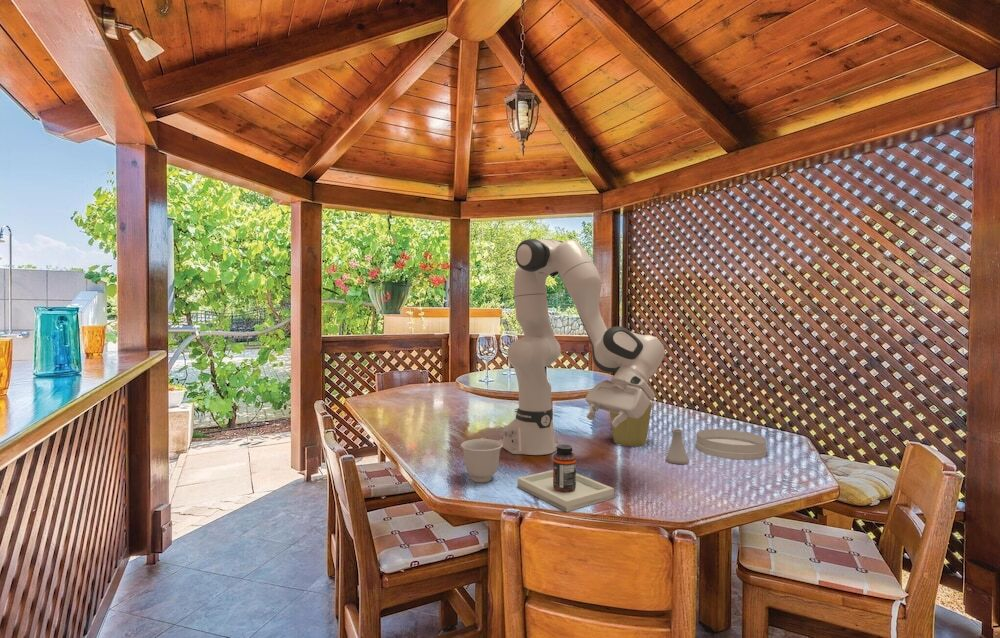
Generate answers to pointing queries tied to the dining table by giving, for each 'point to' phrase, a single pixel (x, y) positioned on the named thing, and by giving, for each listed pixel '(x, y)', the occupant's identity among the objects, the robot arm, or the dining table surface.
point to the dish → (731, 444)
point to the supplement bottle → (564, 469)
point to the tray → (567, 501)
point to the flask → (677, 449)
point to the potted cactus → (632, 429)
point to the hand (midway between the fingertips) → (600, 422)
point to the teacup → (481, 458)
